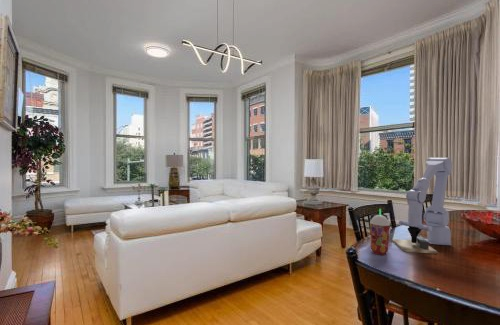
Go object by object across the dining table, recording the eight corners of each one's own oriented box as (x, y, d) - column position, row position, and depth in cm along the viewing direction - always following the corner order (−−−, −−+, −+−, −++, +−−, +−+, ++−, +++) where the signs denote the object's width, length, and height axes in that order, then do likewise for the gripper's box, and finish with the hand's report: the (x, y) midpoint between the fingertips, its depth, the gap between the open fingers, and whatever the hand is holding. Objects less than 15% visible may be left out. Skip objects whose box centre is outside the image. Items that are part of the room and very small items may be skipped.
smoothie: (387, 251, 124) (388, 208, 123) (391, 257, 116) (392, 211, 116) (368, 249, 126) (369, 206, 126) (370, 254, 118) (370, 209, 118)
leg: (412, 240, 136) (412, 233, 136) (420, 241, 135) (421, 234, 135) (419, 247, 125) (419, 240, 125) (428, 248, 123) (428, 241, 123)
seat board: (421, 243, 137) (421, 240, 137) (437, 253, 121) (437, 250, 121) (391, 241, 140) (391, 238, 140) (403, 251, 124) (403, 248, 124)
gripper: (395, 212, 134) (394, 239, 134) (426, 218, 122) (425, 248, 122) (403, 211, 138) (403, 237, 138) (434, 217, 125) (433, 246, 125)
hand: (414, 242), depth 130 cm, fingers closed, pressing on leg
